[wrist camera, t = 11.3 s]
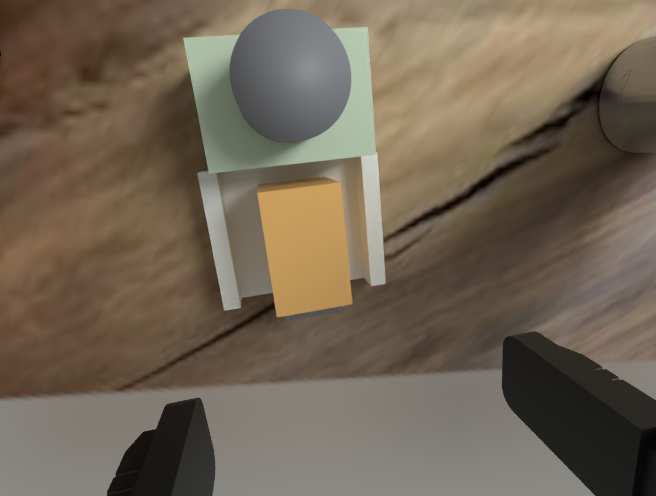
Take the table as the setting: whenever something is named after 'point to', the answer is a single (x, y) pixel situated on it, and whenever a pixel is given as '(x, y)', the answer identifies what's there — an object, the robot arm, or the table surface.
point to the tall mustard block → (306, 246)
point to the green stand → (284, 137)
